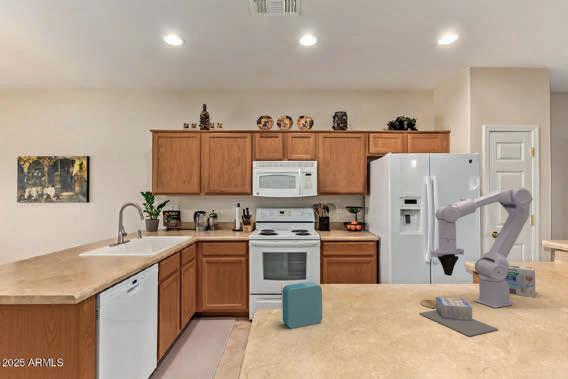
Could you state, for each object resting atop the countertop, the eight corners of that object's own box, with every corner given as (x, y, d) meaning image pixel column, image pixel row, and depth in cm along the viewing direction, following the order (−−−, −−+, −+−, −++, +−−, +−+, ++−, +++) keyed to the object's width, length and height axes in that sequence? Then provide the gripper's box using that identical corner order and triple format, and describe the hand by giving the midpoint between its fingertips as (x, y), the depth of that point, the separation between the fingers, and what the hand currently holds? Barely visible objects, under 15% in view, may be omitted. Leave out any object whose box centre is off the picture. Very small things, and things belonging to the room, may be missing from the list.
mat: (445, 309, 104) (445, 308, 104) (498, 330, 87) (498, 328, 87) (419, 314, 100) (419, 313, 100) (469, 337, 83) (469, 335, 83)
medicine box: (472, 306, 93) (442, 304, 95) (472, 321, 93) (442, 318, 95) (463, 298, 101) (435, 296, 103) (463, 311, 101) (435, 309, 102)
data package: (315, 317, 98) (315, 281, 98) (322, 322, 94) (322, 284, 94) (282, 324, 93) (282, 285, 93) (288, 329, 89) (287, 289, 89)
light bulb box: (501, 292, 122) (500, 266, 122) (503, 289, 127) (502, 263, 127) (535, 298, 115) (534, 270, 115) (535, 294, 120) (534, 267, 120)
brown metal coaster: (432, 300, 114) (432, 298, 114) (450, 307, 106) (450, 305, 106) (416, 302, 111) (415, 301, 111) (433, 310, 103) (433, 308, 103)
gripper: (452, 236, 117) (452, 270, 117) (423, 238, 112) (424, 274, 111) (468, 238, 110) (469, 275, 110) (439, 240, 105) (440, 278, 105)
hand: (448, 275), depth 110 cm, fingers closed
